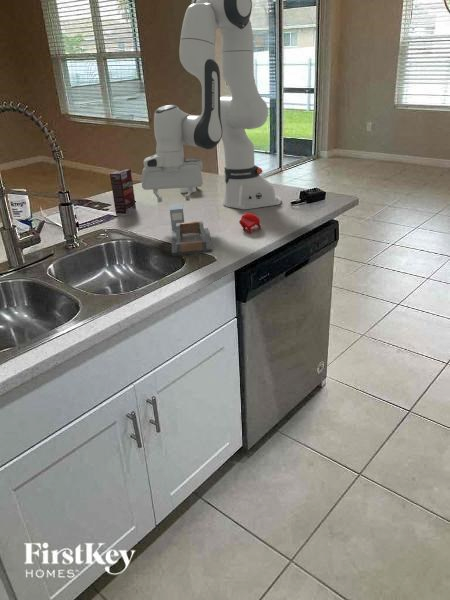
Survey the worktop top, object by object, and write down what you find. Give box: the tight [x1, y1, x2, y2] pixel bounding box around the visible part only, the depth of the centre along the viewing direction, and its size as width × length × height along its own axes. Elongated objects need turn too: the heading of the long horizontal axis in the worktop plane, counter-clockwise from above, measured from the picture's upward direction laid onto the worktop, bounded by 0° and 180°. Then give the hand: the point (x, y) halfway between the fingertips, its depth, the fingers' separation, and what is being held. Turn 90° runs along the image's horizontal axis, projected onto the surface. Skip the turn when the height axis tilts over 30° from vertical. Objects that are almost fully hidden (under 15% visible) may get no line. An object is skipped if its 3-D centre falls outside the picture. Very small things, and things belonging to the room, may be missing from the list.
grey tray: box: [171, 220, 213, 257], centre depth 148 cm, size 12×20×4 cm, turn 5°
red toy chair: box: [239, 212, 262, 234], centre depth 155 cm, size 8×6×6 cm
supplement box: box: [109, 168, 137, 217], centre depth 179 cm, size 9×5×16 cm, turn 163°
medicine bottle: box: [179, 187, 199, 194], centre depth 205 cm, size 7×7×12 cm
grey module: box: [169, 202, 185, 231], centre depth 163 cm, size 4×7×7 cm, turn 5°
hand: (173, 201), depth 160 cm, fingers open, 8 cm apart
